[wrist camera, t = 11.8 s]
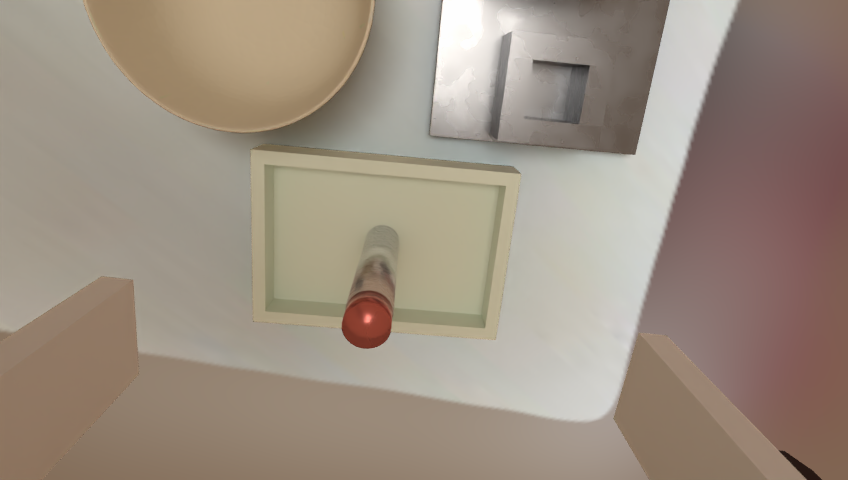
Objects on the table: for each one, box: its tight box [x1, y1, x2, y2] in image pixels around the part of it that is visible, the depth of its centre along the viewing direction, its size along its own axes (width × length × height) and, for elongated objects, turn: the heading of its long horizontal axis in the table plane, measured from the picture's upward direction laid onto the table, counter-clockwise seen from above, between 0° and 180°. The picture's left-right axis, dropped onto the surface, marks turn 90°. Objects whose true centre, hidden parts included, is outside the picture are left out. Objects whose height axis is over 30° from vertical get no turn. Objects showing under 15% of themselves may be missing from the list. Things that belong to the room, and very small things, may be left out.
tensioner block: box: [429, 0, 670, 155], centre depth 31 cm, size 16×14×14 cm
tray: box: [250, 144, 521, 340], centre depth 40 cm, size 20×14×3 cm
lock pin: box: [342, 225, 399, 349], centre depth 34 cm, size 3×3×15 cm
